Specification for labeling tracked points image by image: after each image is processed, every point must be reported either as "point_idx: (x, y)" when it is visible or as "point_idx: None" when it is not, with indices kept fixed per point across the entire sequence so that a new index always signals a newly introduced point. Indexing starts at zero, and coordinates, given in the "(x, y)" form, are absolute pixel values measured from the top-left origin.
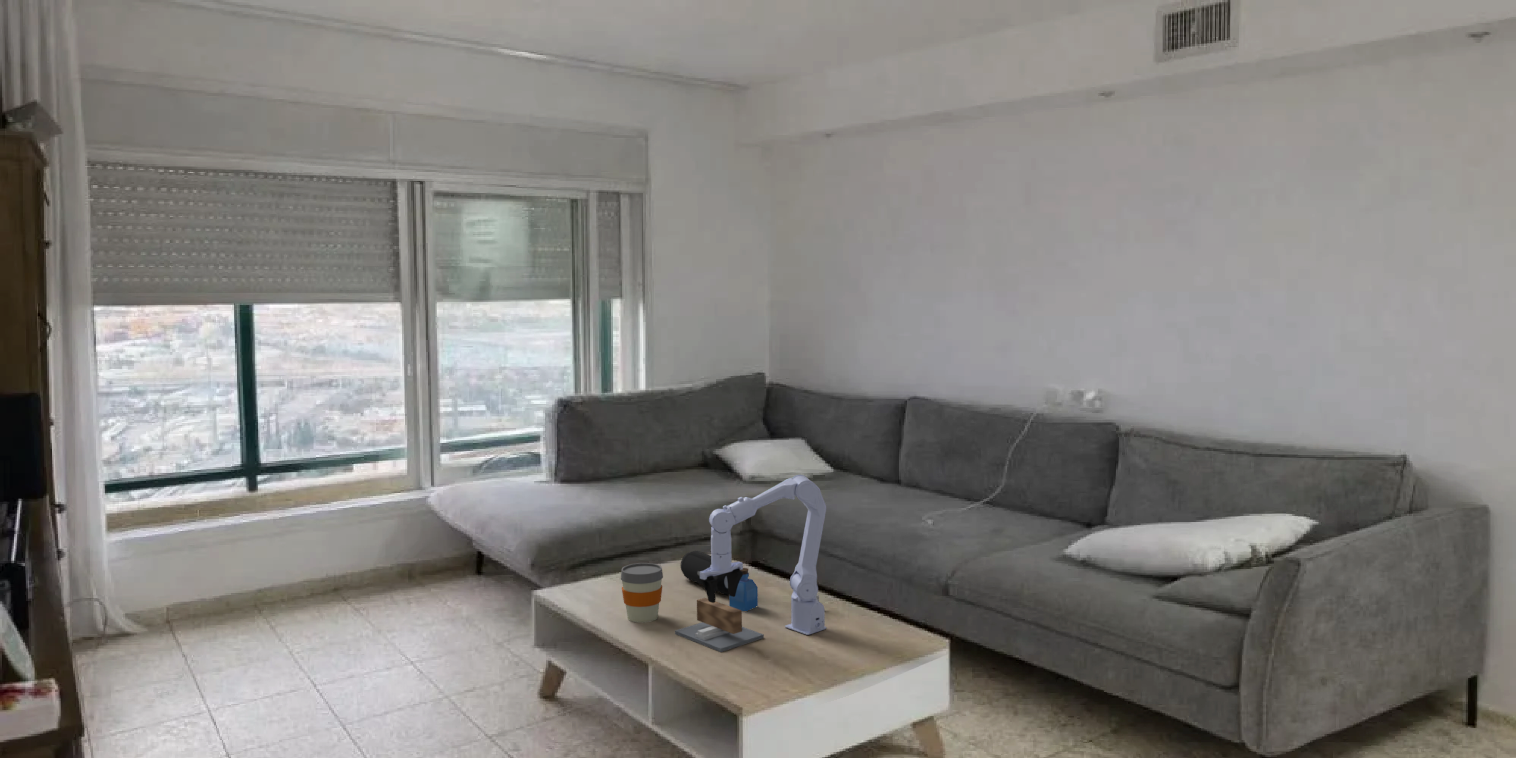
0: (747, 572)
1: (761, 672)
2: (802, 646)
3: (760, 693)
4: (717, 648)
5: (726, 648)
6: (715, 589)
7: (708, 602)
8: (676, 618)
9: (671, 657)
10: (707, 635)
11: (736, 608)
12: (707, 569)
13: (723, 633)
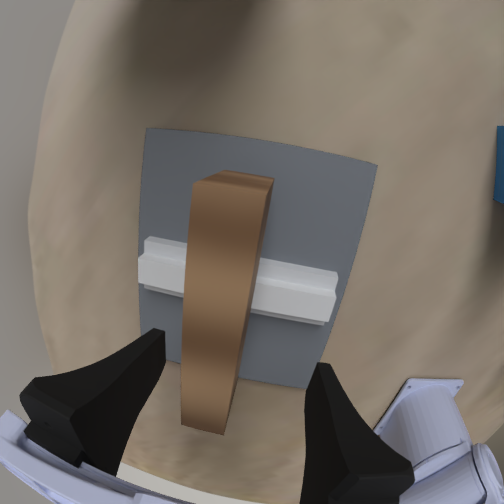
0: None
1: (145, 434)
2: (304, 447)
3: None
4: None
5: None
6: (129, 426)
7: (203, 279)
8: (292, 10)
9: (48, 263)
10: (159, 288)
11: (499, 159)
12: (49, 483)
13: None
